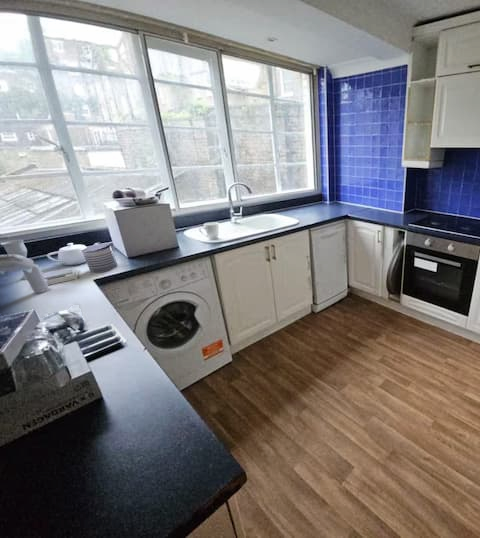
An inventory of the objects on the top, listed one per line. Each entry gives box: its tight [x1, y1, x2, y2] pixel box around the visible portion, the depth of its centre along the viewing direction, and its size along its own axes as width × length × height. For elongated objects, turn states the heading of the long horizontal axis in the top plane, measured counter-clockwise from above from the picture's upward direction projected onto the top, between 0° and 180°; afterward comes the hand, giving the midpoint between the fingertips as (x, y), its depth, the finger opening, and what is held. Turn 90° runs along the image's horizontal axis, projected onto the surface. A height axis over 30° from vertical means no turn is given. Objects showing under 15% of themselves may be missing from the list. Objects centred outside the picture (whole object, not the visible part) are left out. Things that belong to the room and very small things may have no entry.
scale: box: [41, 266, 79, 286], centre depth 140 cm, size 13×12×3 cm
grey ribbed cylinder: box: [81, 242, 119, 274], centre depth 148 cm, size 11×11×12 cm
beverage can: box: [23, 263, 50, 294], centre depth 126 cm, size 5×5×12 cm
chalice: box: [0, 238, 28, 280], centre depth 139 cm, size 7×7×18 cm
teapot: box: [46, 242, 101, 266], centre depth 158 cm, size 22×14×11 cm, turn 133°
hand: (16, 272), depth 118 cm, fingers open, 8 cm apart
